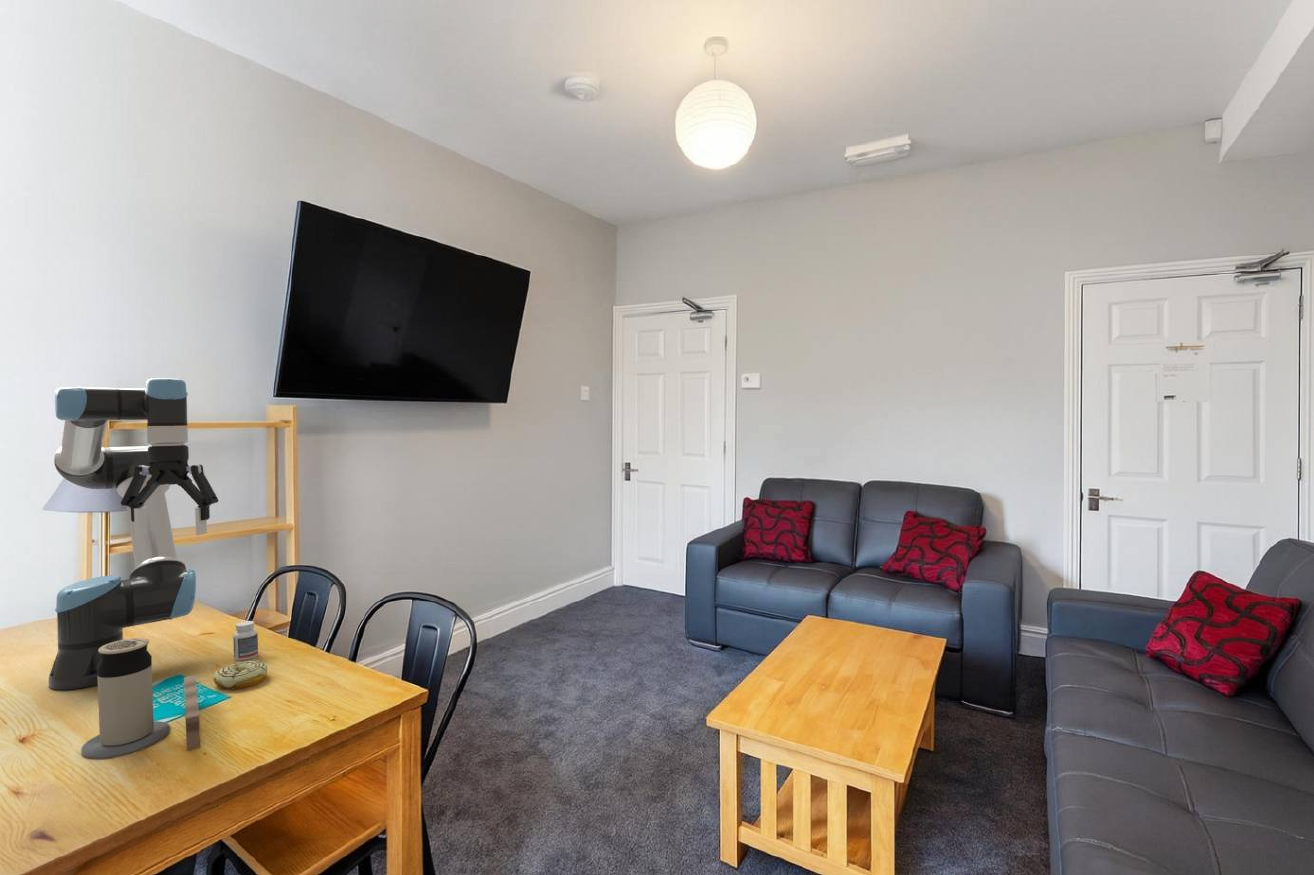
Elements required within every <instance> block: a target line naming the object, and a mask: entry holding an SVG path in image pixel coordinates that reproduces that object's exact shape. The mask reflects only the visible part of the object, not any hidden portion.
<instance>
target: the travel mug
mask: <svg viewBox="0 0 1314 875" xmlns="http://www.w3.org/2000/svg"><path fill="white" fill-rule="evenodd" d="M149 643H150V639H148V638H145V637H135V638H134V637H133V638H132V637H131V638H126V639H123V640H120V641H115V642H112V643H109V644H106V645H104V646H102V647H100V648H99V650H98V652H99V653H100V654H101V658H102V659H101V661H100V662H99V664H98V666H97V678H98V685H97V696H98V698H97V701H98V721H99V722H98V726H99V735H100V743H101V744H102V745H107V746H118V745H124V744H128V743H131V742H135V741H137V740H139V739H142V738H144V737H145V736H147V735H148V734H150V733H151V732H152V731H153V730H154V721H155V716H154V692H153V690H154V689H153V687H154V686H153V685H154V684H153V665H152V664H153V660H152V655H151V654H150V652H149V650H148V645H149Z"/></svg>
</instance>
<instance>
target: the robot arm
mask: <svg viewBox="0 0 1314 875" xmlns="http://www.w3.org/2000/svg"><path fill="white" fill-rule="evenodd" d="M54 410H55V417H56V418H57V419H58V420H59V421H64V424H63V432H62V439H61V440H62V441H61V446H60V447H58V449H57V450H56V452H55V454H54V458H53V459H54V461H53V462H54V468H55V469H56V471H57V473H59V475H60V476H61V477H62V478H64V479H65V480H66V481H68V482H70V483H72V484H74V485H76V486H79V487H81V488H84V489H85V488H86V489H90V490H91V489H92V490H111V489H116V493H117V494H118V496H120V497H121V498H122V499H121V501H120V505H121V506H124V507H126V512H127V518H128V525H129V531H130V537H131V545H132V553H133V559H134V565H135V568H134V569H132V570H131V572H130V574H129V577H128V578H129V579H122V577H121V576H120V575H119V574H109V575H102V576H95V577H91V578H89V579H84V580H81V581H78V582H73V583H71V584H69V585H67V586H64V587H63V588H61V590H59V591H58V593H57V595H56V603H55V605H56V607H55V608H54V609H55V610H54V611H55V613H56V623H57V625H56V627H57V628H56V629H57V654H56V656H55V659H54V661H53V664H52V667H51V671H50V673H49V675H48V688H50V689H52V690H57V691H59V690H62V691H64V690H76V689H82V688H88V687H94V686H98V678H97V666H98V664H99V662H100V661H101V659H102V658H101V654H100V653H99V652H98V650H99V648H100V647H102V646H104V645H106V644H109V643H112V642H115V641H120V640H124V633H123V632H124V630H123V629H125V628H129V627H135V626H142V625H145V624H151V623H157V622H163V621H169V620H170V621H171V620H174V619H176V618H181V617H186V616H188V615H189V614H191V612H192V611H193V609H194V605H195V602H196V601H195V600H196V589H197V578H196V577H197V575H196V572H195V570H194V569H187V567H186V564H185V563H184V562H183V561H182V560H179V559H177V552H176V547H175V541H174V536H173V532H172V530H173V529H172V527H171V519H170V514H169V509H168V505H167V499H166V492H167V491H169V489H170V487H171V486H172V485H173V486H174V485H178V486H179V487H181V488H182V489H183V491H184V492H185V493H186V494H187V495H188V496H189V497H190V498H191V499H192V500H193V502H195V503H196V504H197V505H198V506H196V507H194V511H195V512H194V517H195V518H194V520H195V535H196V536H202V535H205V534H207V533H208V529H207V528H208V526H207V523H208V522H207V520H209V519H210V516H211V514H210V513H211V512H210V507H211V505H213V504H216V503H218V502H219V498H218V496H217V495H216V494H217V493H215V491H214V489H213V487H212V486H211V484H210V482H209V480H208V478H207V476H206V475H205V472H204V466H203V464H193V465H189V463H188V461H189V459H190V458H189V457H190V454H189V453H190V452H189V451H190V450H189V446H188V445H187V443H188V442H189V431H188V430H189V429H188V428H189V427H188V392H187V384H186V382H185V380H183V379H179V378H148V379H147V380H146V382H145V388H128V387H127V388H120V387H119V388H117V387H116V388H115V387H83V386H74V387H59V388H57V389H56V390H55V392H54ZM108 421H146V425H147V426H146V433H147V434H146V436H147V438H146V440H147V441H146V442H147V444H146V445H143V446H142V445H141V446H139V445H138V446H134V445H133V446H107V447H106V446H103V444H104V439H105V435H106V430H107V427H108ZM188 474H190V475H191V477H192V478H193V480H192V479H191V477H190V476H188ZM193 481H194V482H195V483H194V482H193ZM195 484H196V485H195Z"/></svg>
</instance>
